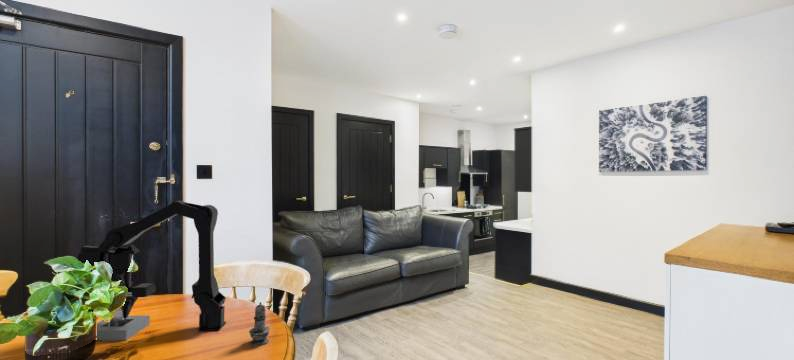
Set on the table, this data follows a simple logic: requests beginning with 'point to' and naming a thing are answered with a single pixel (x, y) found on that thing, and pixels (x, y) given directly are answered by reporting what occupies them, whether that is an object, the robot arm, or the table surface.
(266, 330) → the grey tower figurine
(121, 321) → the grey metallic cylinder
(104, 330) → the socket block
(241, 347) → the table surface
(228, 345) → the table surface
